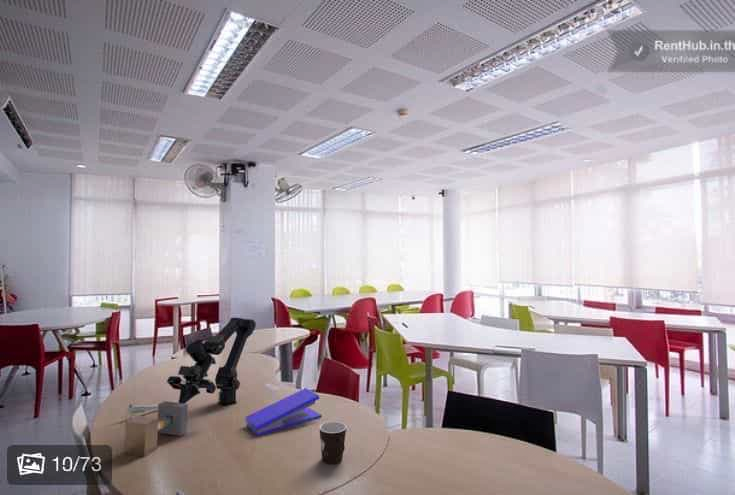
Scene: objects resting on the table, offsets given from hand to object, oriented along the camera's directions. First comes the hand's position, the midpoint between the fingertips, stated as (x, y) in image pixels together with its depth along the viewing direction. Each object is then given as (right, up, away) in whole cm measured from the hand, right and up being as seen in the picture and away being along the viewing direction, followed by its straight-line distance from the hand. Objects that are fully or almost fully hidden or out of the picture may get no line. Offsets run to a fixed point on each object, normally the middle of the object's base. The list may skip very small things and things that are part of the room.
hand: (179, 405), depth 139 cm
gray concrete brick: (-1, -9, -4) cm, 9 cm away
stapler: (+37, -11, +9) cm, 39 cm away
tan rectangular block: (-3, -8, -11) cm, 14 cm away
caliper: (-19, -10, +16) cm, 27 cm away
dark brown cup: (+59, -9, -21) cm, 63 cm away
